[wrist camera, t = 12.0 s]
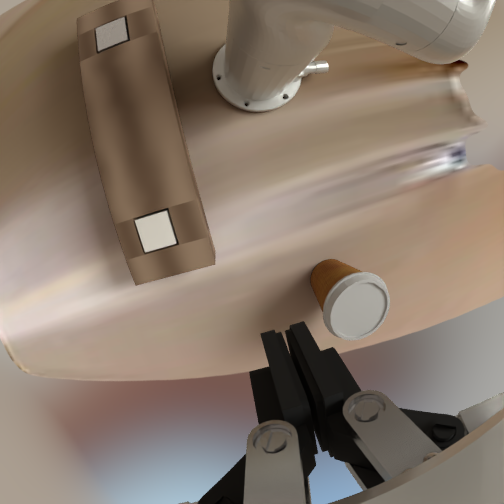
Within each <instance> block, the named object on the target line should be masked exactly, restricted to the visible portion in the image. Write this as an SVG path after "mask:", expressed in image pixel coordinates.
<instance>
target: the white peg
mask: <svg viewBox="0 0 504 504" xmlns="http://www.w3.org/2000/svg"><path fill="white" fill-rule="evenodd" d="M135 223H136V226H137V229H138V232H139V235H140V239H141V242H142V245H143V248H144V251H145V252H149V251H152V250H156V249H159V248H163V247H166V246H170V245H173V244H176V243H177V241H178V239H177V236H176V232H175V229H174V226H173V222H172V219H171V216H170V212H169V209H168V208H165V209H162V210H159V211H155V212H152V213H149V214H146V215H143V216H141V217H139V218H138V219H136V220H135Z"/></svg>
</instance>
